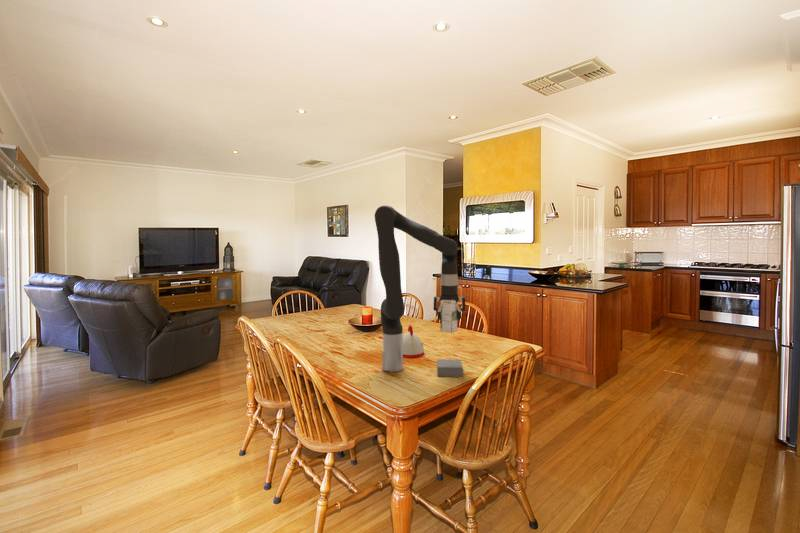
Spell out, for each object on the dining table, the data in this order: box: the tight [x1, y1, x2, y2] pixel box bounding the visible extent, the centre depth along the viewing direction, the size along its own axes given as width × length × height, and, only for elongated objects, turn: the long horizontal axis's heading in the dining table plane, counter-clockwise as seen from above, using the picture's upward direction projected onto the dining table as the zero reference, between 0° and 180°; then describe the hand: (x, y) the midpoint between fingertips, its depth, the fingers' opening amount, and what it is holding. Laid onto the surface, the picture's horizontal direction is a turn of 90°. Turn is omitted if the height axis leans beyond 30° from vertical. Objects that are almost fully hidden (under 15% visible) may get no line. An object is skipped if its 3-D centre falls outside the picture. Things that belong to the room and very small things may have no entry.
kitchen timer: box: [403, 325, 425, 359], centre depth 204 cm, size 14×14×15 cm
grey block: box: [436, 358, 464, 378], centre depth 177 cm, size 11×11×4 cm
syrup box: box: [439, 300, 459, 334], centre depth 175 cm, size 6×6×14 cm
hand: (449, 319), depth 175 cm, fingers closed on syrup box, 8 cm apart
